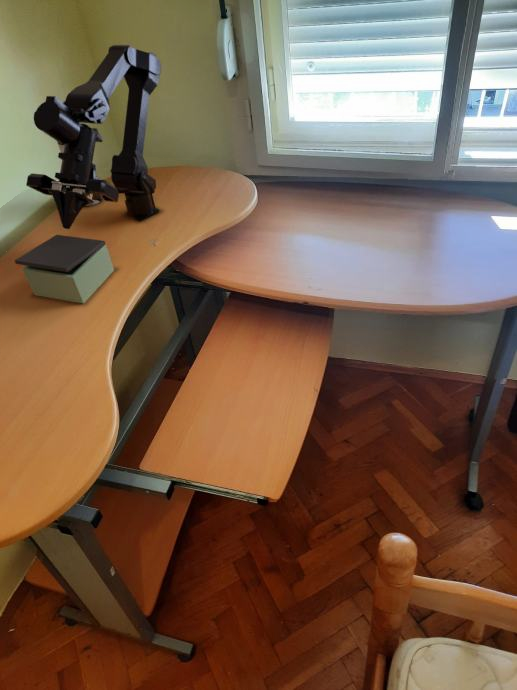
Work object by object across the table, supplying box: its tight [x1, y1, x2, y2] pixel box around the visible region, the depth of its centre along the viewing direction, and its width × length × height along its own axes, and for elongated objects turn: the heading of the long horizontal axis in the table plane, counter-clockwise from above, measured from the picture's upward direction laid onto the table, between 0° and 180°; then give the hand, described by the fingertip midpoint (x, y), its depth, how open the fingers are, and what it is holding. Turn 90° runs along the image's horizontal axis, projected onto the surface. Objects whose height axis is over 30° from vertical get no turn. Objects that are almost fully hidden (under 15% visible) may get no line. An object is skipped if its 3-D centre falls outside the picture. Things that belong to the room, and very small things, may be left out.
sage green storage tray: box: [21, 244, 115, 305], centre depth 100 cm, size 12×12×7 cm
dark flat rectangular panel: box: [14, 234, 106, 272], centre depth 96 cm, size 13×12×1 cm
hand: (66, 228), depth 96 cm, fingers closed
